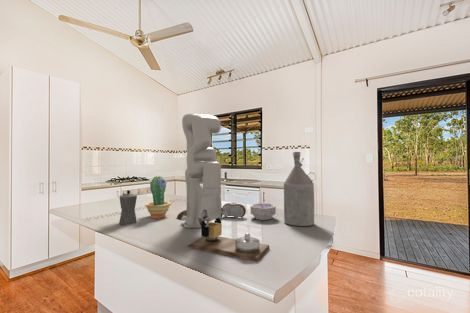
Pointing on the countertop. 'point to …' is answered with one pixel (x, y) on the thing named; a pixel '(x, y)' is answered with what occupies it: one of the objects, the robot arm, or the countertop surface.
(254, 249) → the hub
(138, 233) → the countertop surface
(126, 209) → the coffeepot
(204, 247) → the board
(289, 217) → the grey bottle
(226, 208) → the tin
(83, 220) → the countertop surface
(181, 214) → the bread roll
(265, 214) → the paper bowls
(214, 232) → the hollow square block
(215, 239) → the round drawer knob
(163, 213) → the potted cactus
